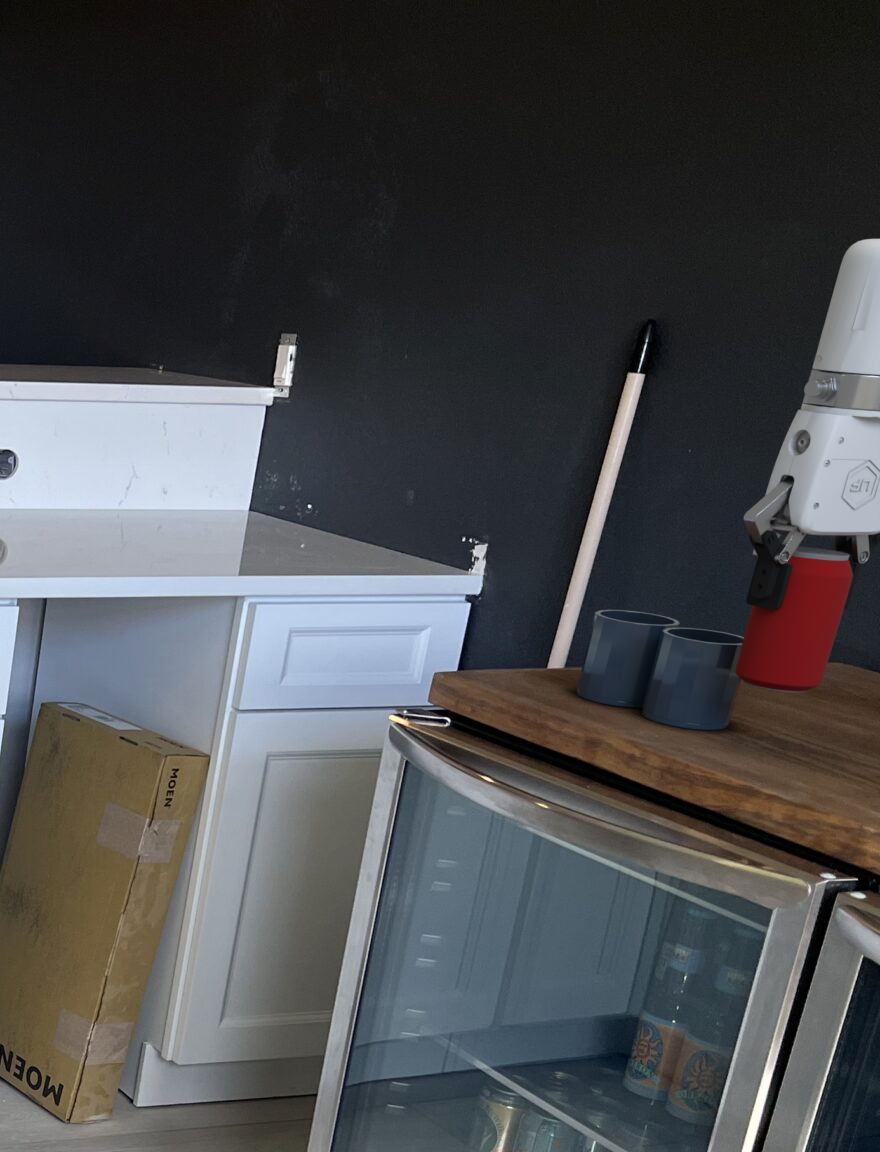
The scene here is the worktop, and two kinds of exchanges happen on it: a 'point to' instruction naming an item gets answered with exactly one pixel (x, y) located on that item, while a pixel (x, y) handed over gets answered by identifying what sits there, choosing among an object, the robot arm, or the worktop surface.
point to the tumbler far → (621, 656)
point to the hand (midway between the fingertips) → (796, 604)
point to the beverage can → (797, 625)
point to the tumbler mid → (694, 679)
